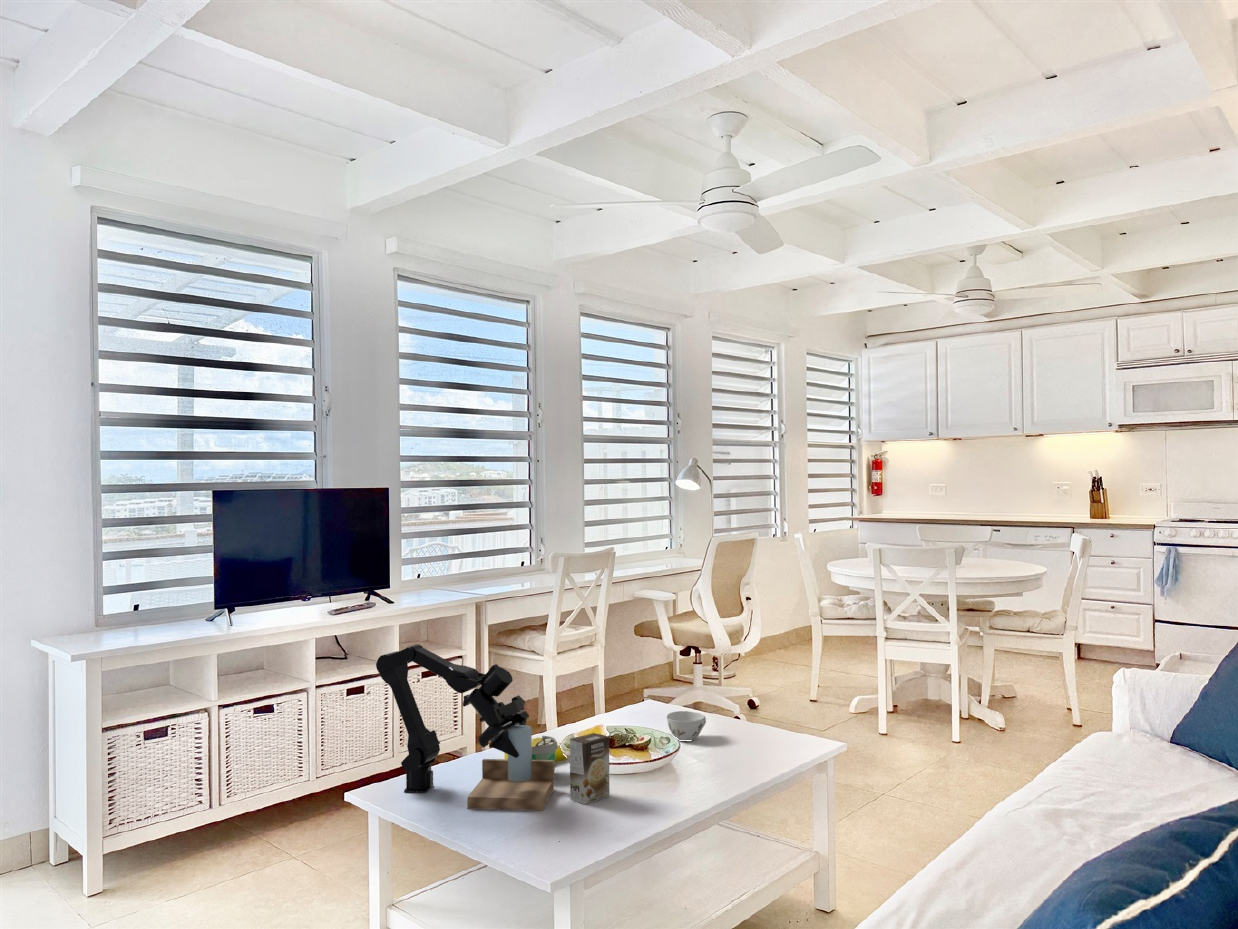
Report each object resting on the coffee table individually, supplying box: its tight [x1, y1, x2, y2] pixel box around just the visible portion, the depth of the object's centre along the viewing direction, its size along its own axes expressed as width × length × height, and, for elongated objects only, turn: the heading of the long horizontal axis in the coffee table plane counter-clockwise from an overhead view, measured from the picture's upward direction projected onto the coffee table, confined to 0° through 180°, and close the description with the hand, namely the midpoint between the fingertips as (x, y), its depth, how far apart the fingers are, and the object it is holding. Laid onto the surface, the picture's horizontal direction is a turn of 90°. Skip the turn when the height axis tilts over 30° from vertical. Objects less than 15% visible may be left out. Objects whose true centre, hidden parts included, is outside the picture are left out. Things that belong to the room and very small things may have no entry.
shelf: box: [466, 758, 555, 811], centre depth 230 cm, size 20×16×8 cm
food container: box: [532, 735, 558, 770], centre depth 248 cm, size 12×6×10 cm, turn 168°
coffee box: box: [569, 732, 610, 805], centre depth 230 cm, size 9×6×16 cm
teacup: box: [666, 710, 707, 741], centre depth 284 cm, size 15×12×8 cm
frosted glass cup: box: [507, 724, 533, 782], centre depth 227 cm, size 6×6×13 cm
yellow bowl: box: [504, 737, 567, 764], centre depth 265 cm, size 15×15×5 cm
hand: (524, 753), depth 226 cm, fingers closed on frosted glass cup, 6 cm apart
